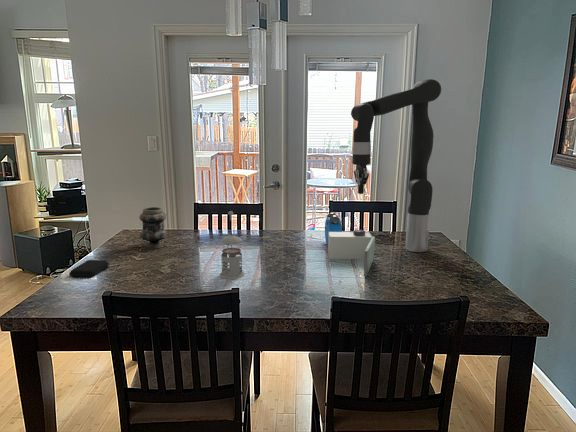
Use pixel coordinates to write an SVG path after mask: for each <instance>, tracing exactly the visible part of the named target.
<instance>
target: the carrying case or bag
mask: <svg viewBox="0 0 576 432" xmlns="http://www.w3.org/2000/svg"><path fill="white" fill-rule="evenodd" d="M109 267H110V263H109V261H107V260H104V259H103V260H101V259H100V260H98V259H87V260H86V261H85V262H83V263H81V264H79V265H78V266H76V267H74V268H72V269H71V270H70V272H69V276H70V277H72V278H83V279H85V278H86V279H90V278H93V277H95V276H96V275H98V274H100V273H101V272H102V271H103V270H105V269H106V268H107V269H108V268H109Z"/></svg>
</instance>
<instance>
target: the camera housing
mask: <svg viewBox="0 0 576 432" xmlns="http://www.w3.org/2000/svg"><path fill="white" fill-rule="evenodd" d="M372 236H373V235H372V234H371V233H370V232H368V231H365V230H362V229H355V230H353V231H342V232H329V236H328V245H327V256H328V259H329V260H358V261H359V260H360V261H361V260H364V257H365V250H366V248H367V246H368V244H369V242H370V240H371V238H372Z"/></svg>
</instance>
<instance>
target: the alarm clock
mask: <svg viewBox="0 0 576 432" xmlns="http://www.w3.org/2000/svg"><path fill="white" fill-rule="evenodd" d="M329 232H343V226H342V220H341V218H340V217H339V216H338V215H337V214H336V213H335V212H332V211H331V212H329V213H327V215H326V219H325V222H324V238H325V243H326V245H327V246H328V236H329Z"/></svg>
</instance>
